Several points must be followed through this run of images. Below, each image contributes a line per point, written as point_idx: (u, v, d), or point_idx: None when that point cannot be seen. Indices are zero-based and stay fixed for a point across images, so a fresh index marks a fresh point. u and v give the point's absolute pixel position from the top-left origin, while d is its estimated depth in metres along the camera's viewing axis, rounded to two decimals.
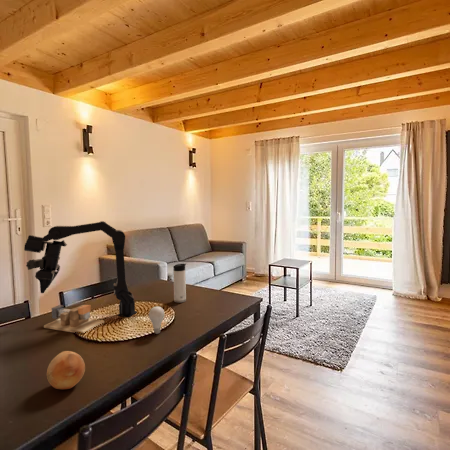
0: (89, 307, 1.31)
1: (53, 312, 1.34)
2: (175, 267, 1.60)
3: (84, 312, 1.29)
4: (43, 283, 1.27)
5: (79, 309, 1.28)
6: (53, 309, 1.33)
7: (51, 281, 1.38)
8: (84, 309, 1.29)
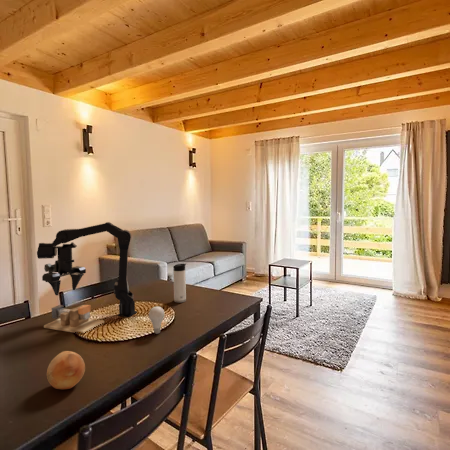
0: (89, 307, 1.31)
1: (53, 312, 1.34)
2: (175, 267, 1.60)
3: (84, 312, 1.29)
4: (54, 286, 1.32)
5: (79, 309, 1.28)
6: (53, 309, 1.33)
7: (76, 283, 1.41)
8: (84, 309, 1.29)
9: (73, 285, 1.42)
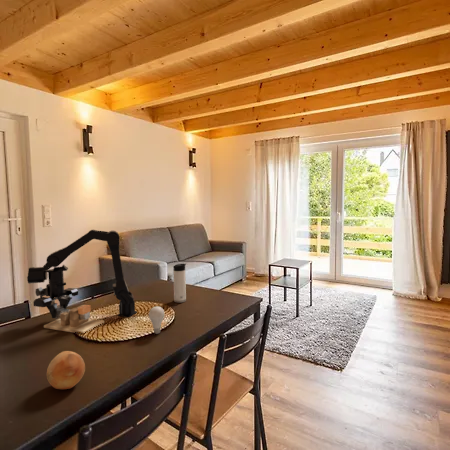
0: (89, 307, 1.31)
1: None
2: (175, 267, 1.60)
3: (84, 312, 1.29)
4: (50, 308, 1.32)
5: (79, 309, 1.28)
6: None
7: (64, 308, 1.37)
8: (84, 309, 1.29)
9: None
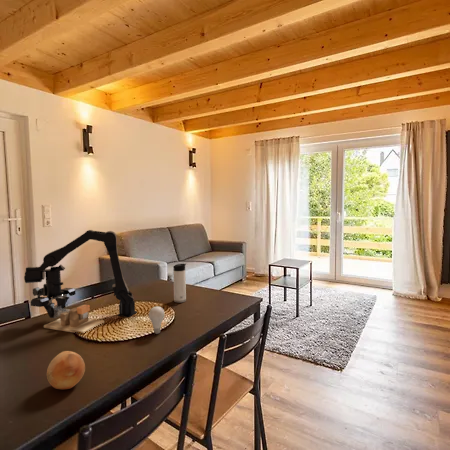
0: (88, 307, 1.32)
1: None
2: (175, 267, 1.60)
3: (83, 312, 1.29)
4: (48, 308, 1.33)
5: (78, 309, 1.29)
6: None
7: None
8: (83, 309, 1.29)
9: None
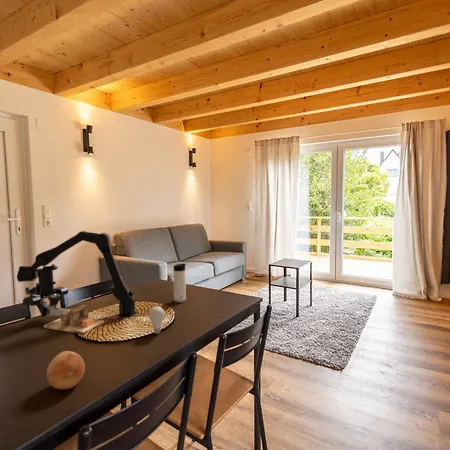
0: None
1: None
2: (175, 267, 1.60)
3: None
4: (40, 307, 1.34)
5: (86, 323, 1.28)
6: None
7: None
8: None
9: None
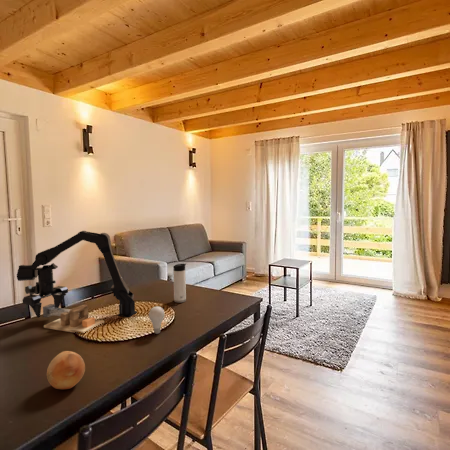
0: None
1: (44, 311, 1.35)
2: (175, 267, 1.60)
3: None
4: (35, 308, 1.32)
5: (86, 323, 1.28)
6: (44, 308, 1.35)
7: (58, 304, 1.41)
8: None
9: (55, 305, 1.41)
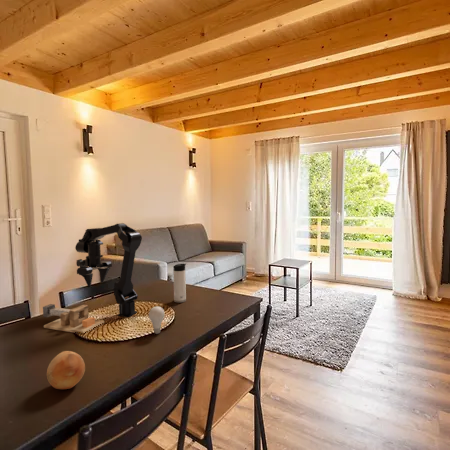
0: None
1: (44, 311, 1.35)
2: (175, 267, 1.60)
3: None
4: (87, 278, 1.48)
5: (86, 323, 1.28)
6: (44, 308, 1.35)
7: (104, 276, 1.58)
8: None
9: (101, 278, 1.58)
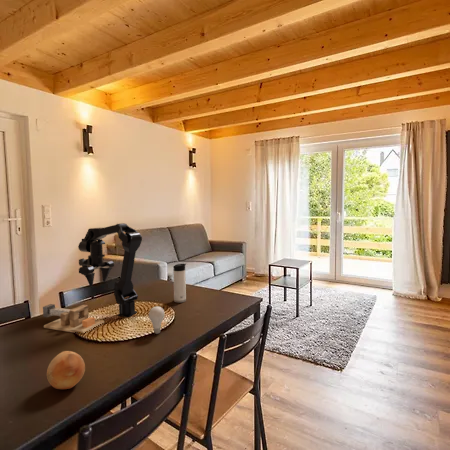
0: None
1: (44, 311, 1.35)
2: (175, 267, 1.60)
3: None
4: (88, 277, 1.49)
5: (86, 323, 1.28)
6: (44, 308, 1.35)
7: (106, 276, 1.58)
8: None
9: (103, 277, 1.59)
